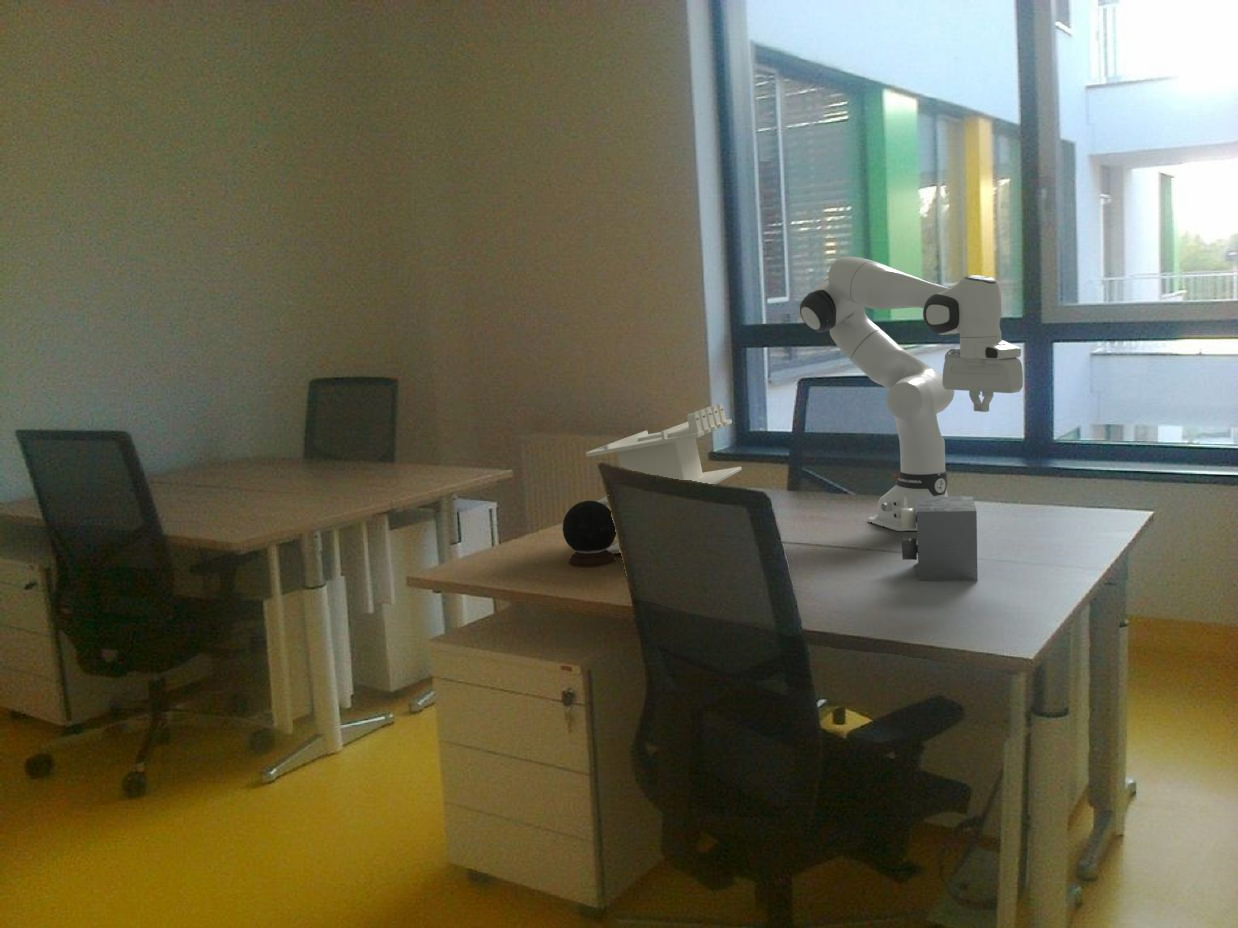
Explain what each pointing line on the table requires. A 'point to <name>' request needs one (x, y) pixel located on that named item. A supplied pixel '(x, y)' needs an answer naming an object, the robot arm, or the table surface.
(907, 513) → the ivory knob
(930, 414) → the robot arm
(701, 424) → the white spaceship model
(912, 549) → the charcoal knob
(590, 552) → the black crystal ball
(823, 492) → the table surface
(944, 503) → the control box
